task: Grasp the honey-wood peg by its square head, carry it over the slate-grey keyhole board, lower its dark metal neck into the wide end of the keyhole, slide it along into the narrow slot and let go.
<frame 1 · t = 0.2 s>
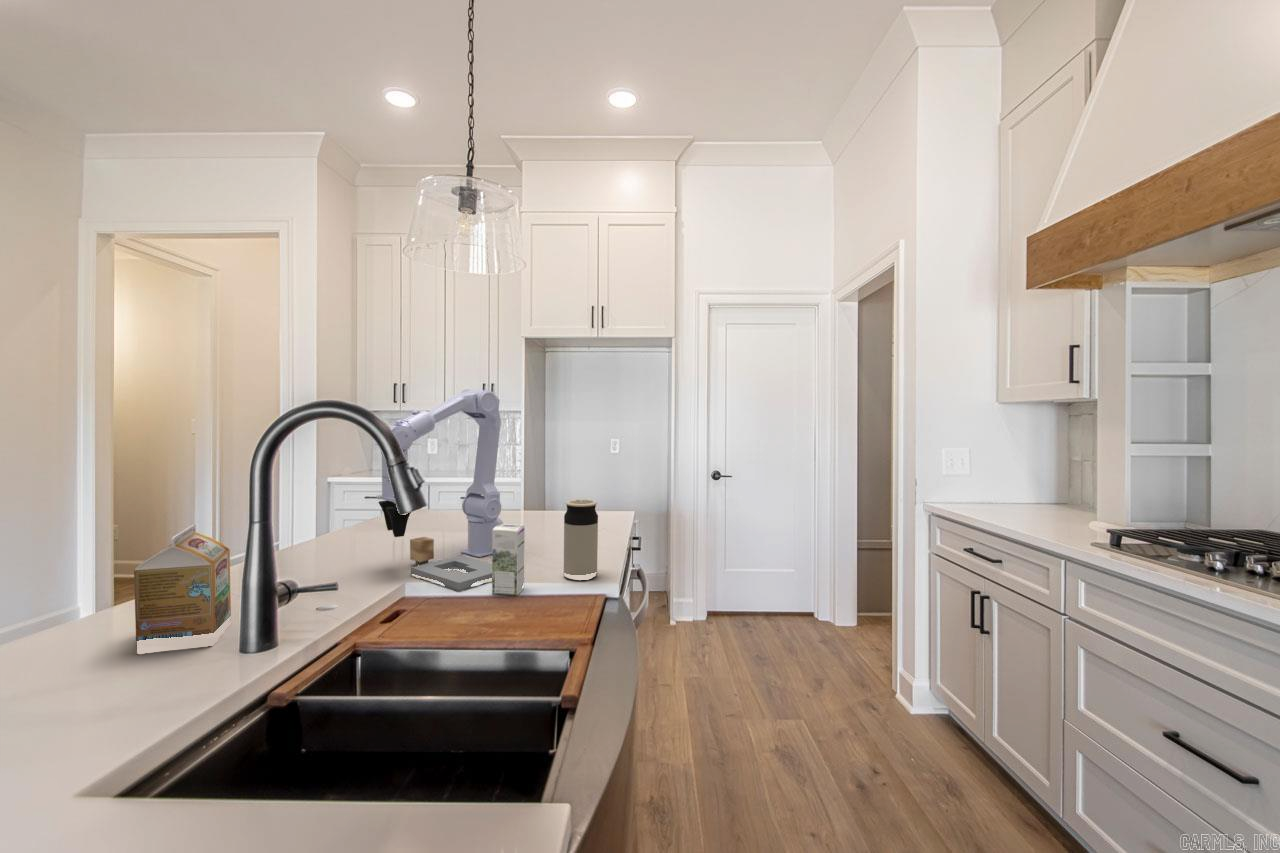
hand: (395, 533, 143), 10 cm above the countertop, tool pointing down, fingers open, 7 cm apart
keyhole peg: (422, 564, 151), on the countertop
milk carton: (186, 639, 105), on the countertop
syrup box: (508, 592, 132), on the countertop
keyhole board: (459, 576, 142), on the countertop
travel mug: (580, 577, 144), on the countertop
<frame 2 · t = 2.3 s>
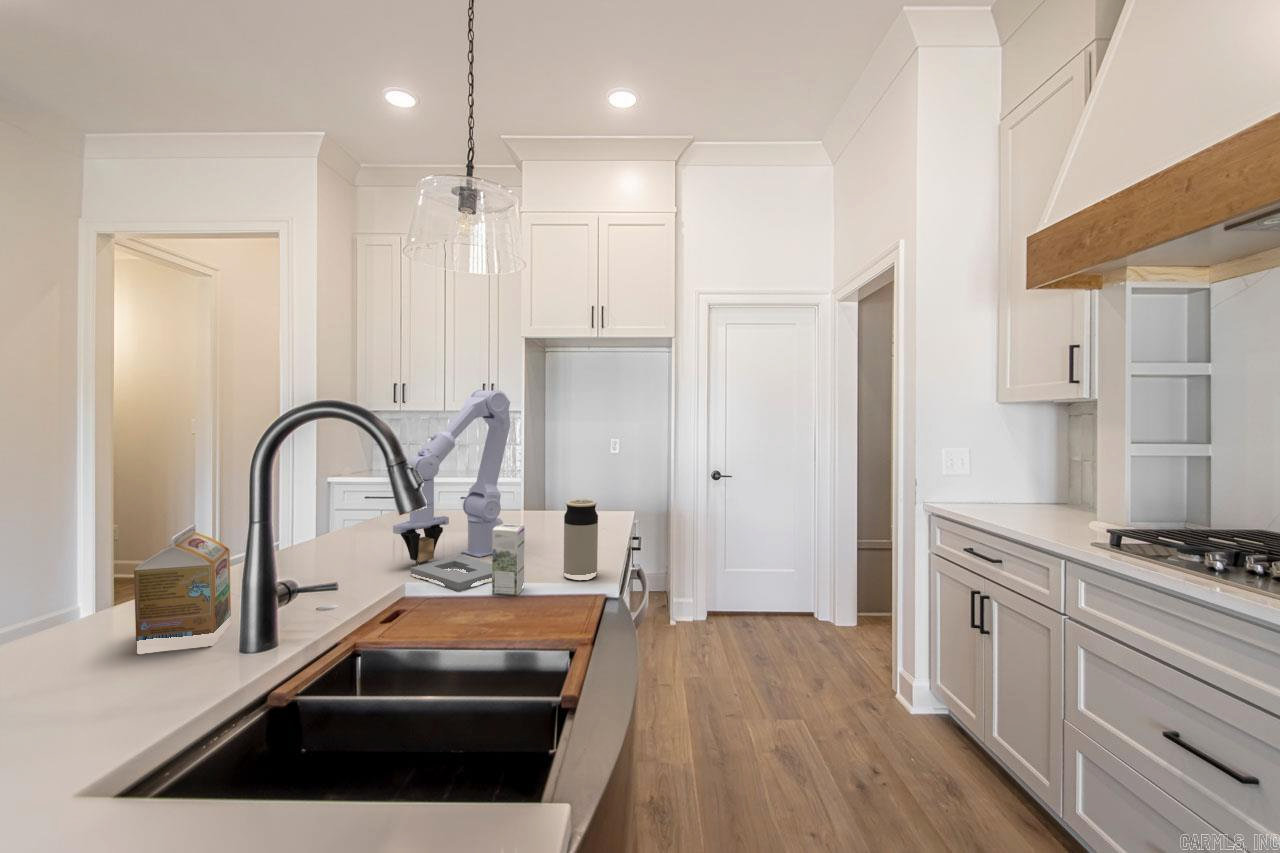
hand: (422, 557, 151), 2 cm above the countertop, tool pointing down, fingers closed on keyhole peg, 4 cm apart
keyhole peg: (422, 564, 151), on the countertop, touching gripper
everything else where it was.
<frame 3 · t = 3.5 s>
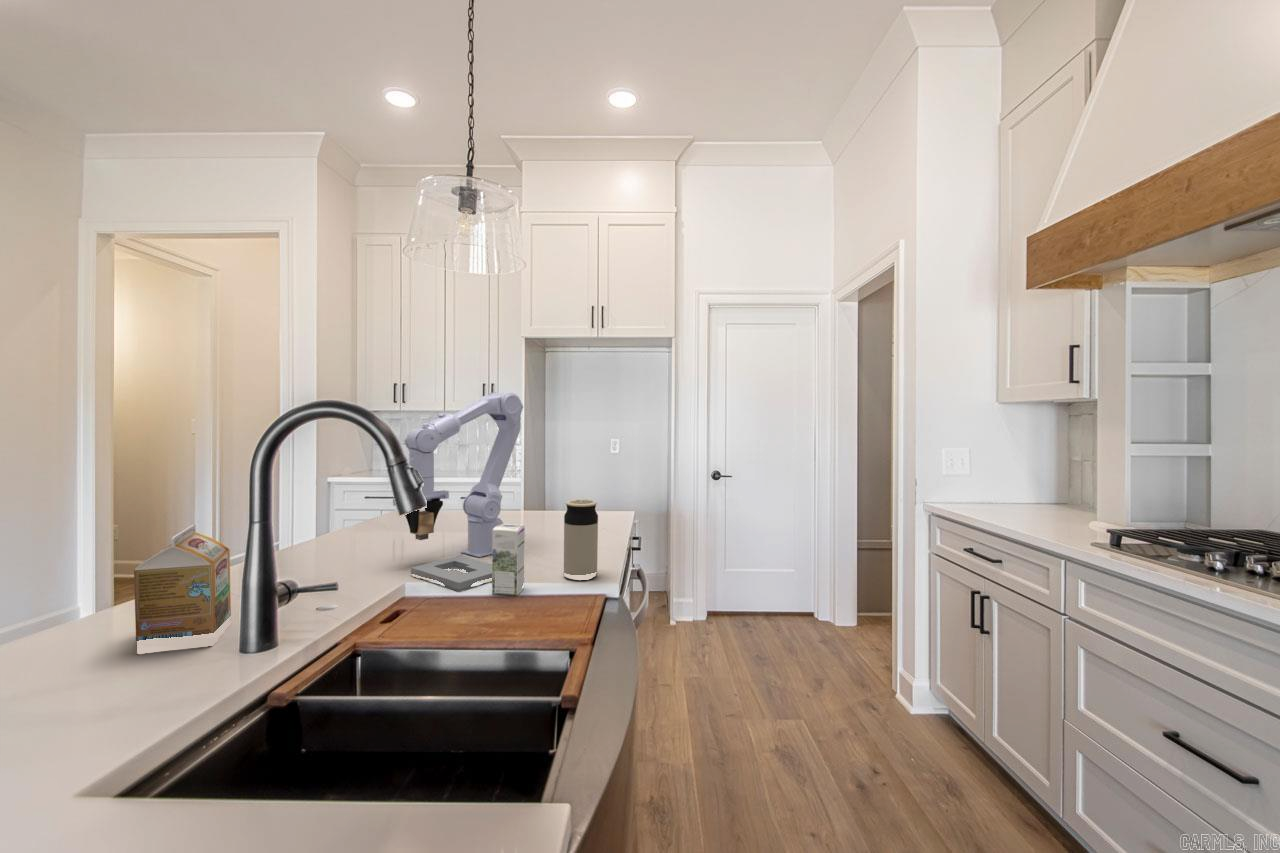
hand: (422, 530, 151), 9 cm above the countertop, tool pointing down, fingers closed on keyhole peg, 4 cm apart
keyhole peg: (422, 538, 151), point 7 cm above the countertop, touching gripper
everything else where it was.
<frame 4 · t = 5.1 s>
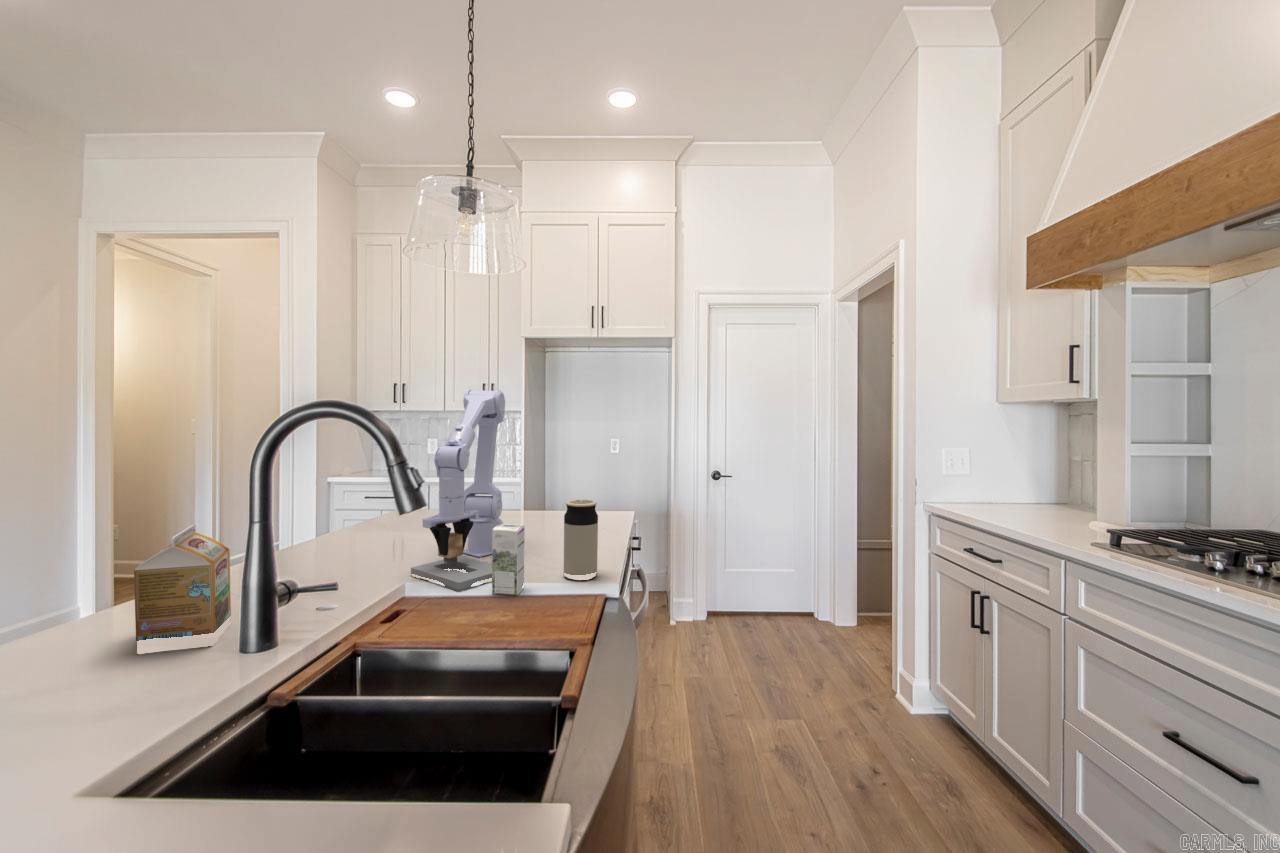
hand: (451, 552, 144), 5 cm above the countertop, tool pointing down, fingers closed on keyhole peg, 4 cm apart
keyhole peg: (450, 561, 144), point 3 cm above the countertop, touching gripper
everything else where it was.
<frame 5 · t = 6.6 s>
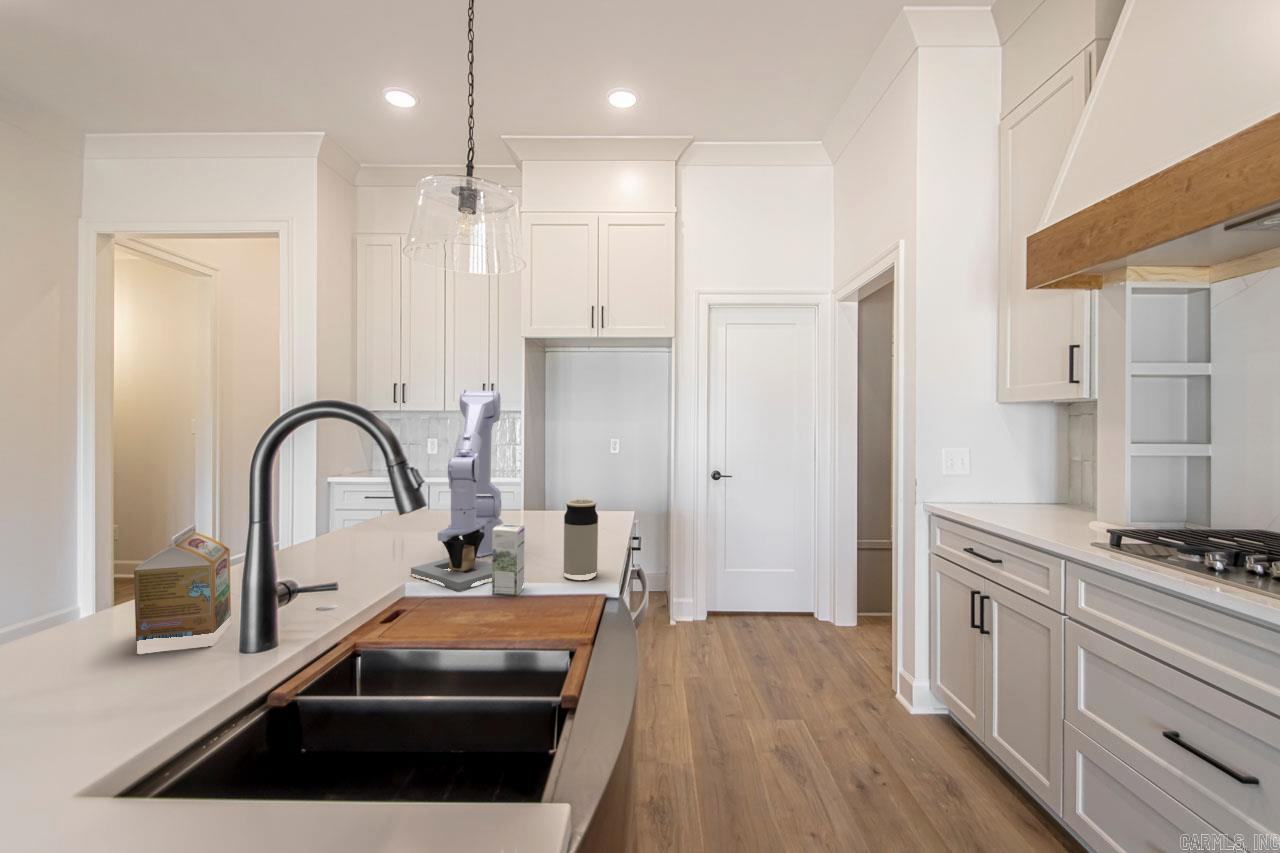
hand: (463, 565, 141), 3 cm above the countertop, tool pointing down, fingers closed on keyhole peg, 4 cm apart
keyhole peg: (462, 574, 141), point 1 cm above the countertop, touching gripper
everything else where it was.
when the fingers open (3 cm above the countertop, at t = 7.7 s): keyhole peg stays where it is, resting on keyhole board.
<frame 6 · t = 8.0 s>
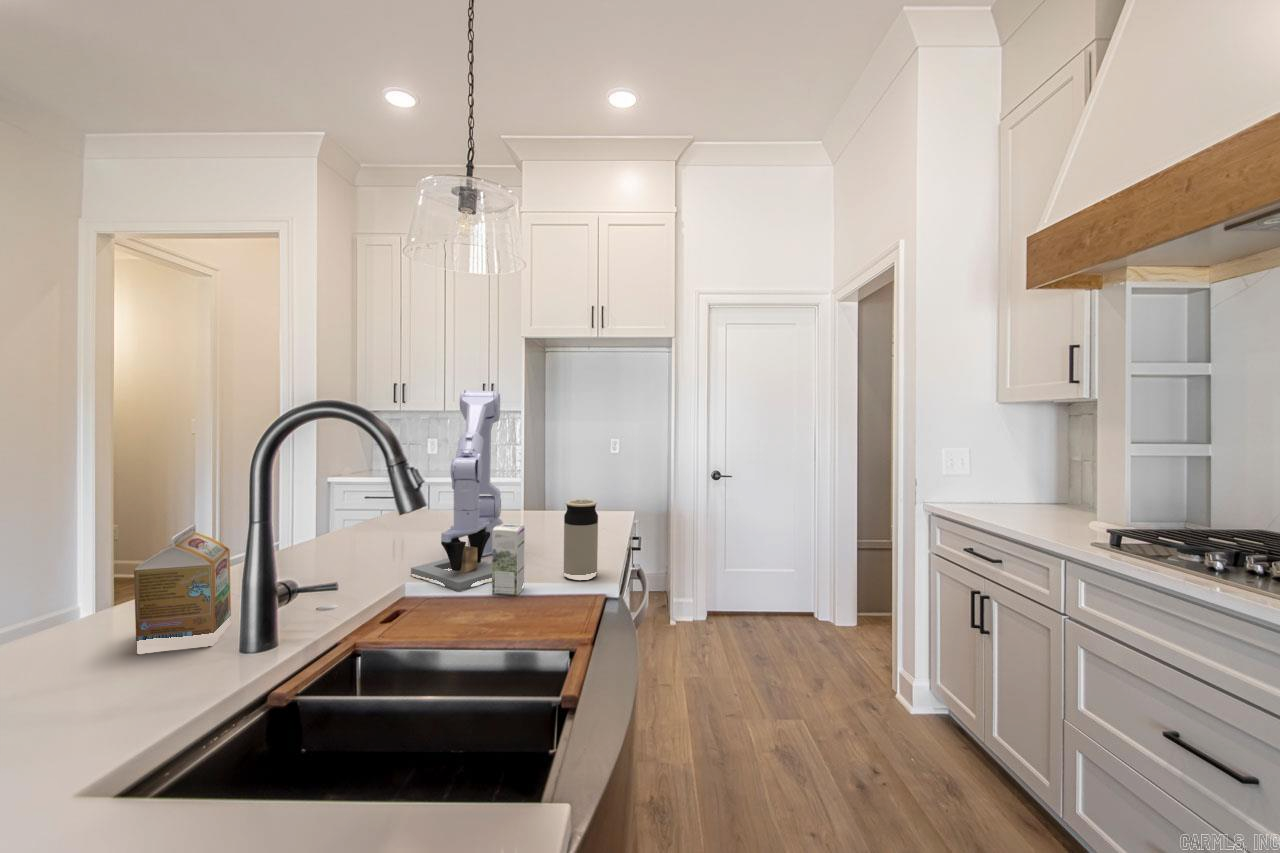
hand: (466, 566, 141), 3 cm above the countertop, tool pointing down, fingers open, 6 cm apart
keyhole peg: (464, 576, 141), resting on keyhole board
everything else where it was.
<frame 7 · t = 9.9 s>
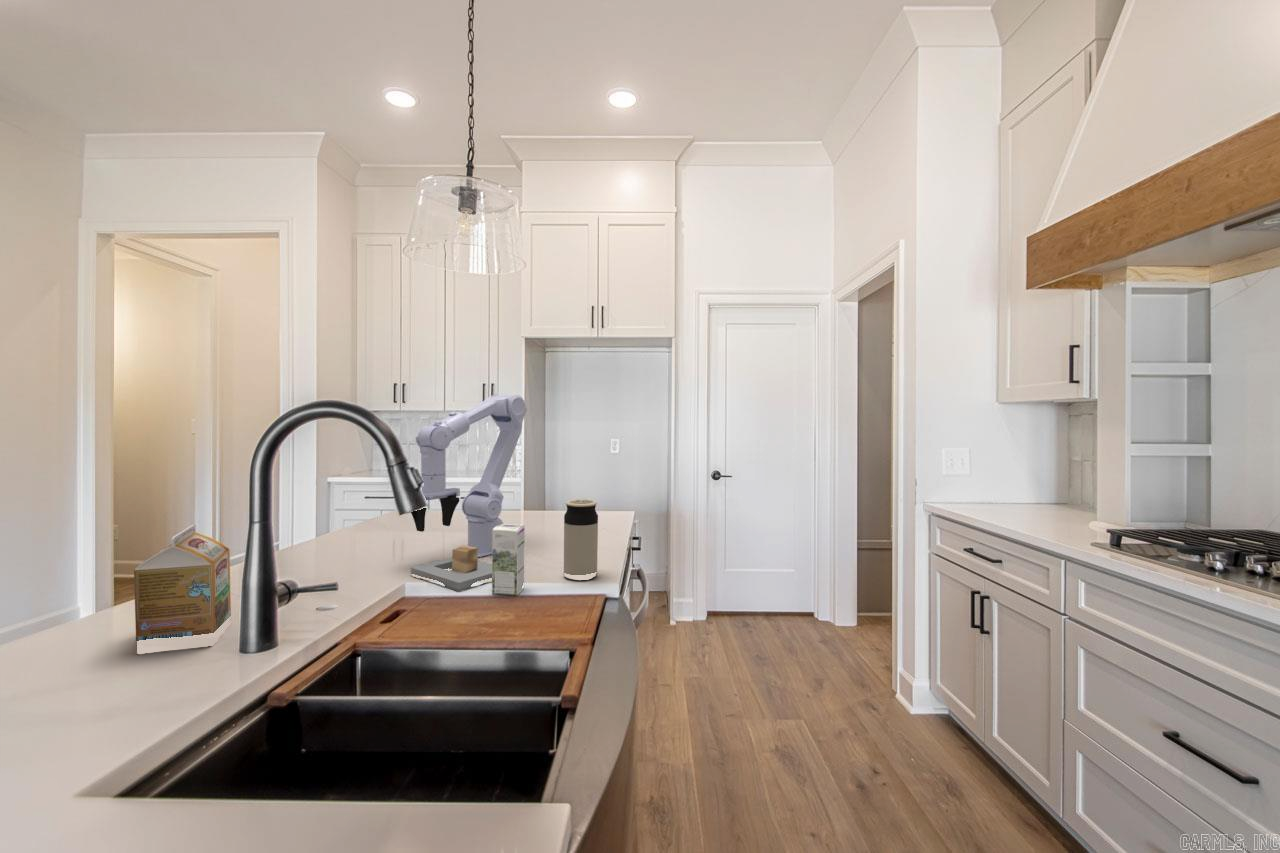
hand: (433, 528, 150), 9 cm above the countertop, tool pointing down, fingers open, 7 cm apart
nothing on the countertop moved.
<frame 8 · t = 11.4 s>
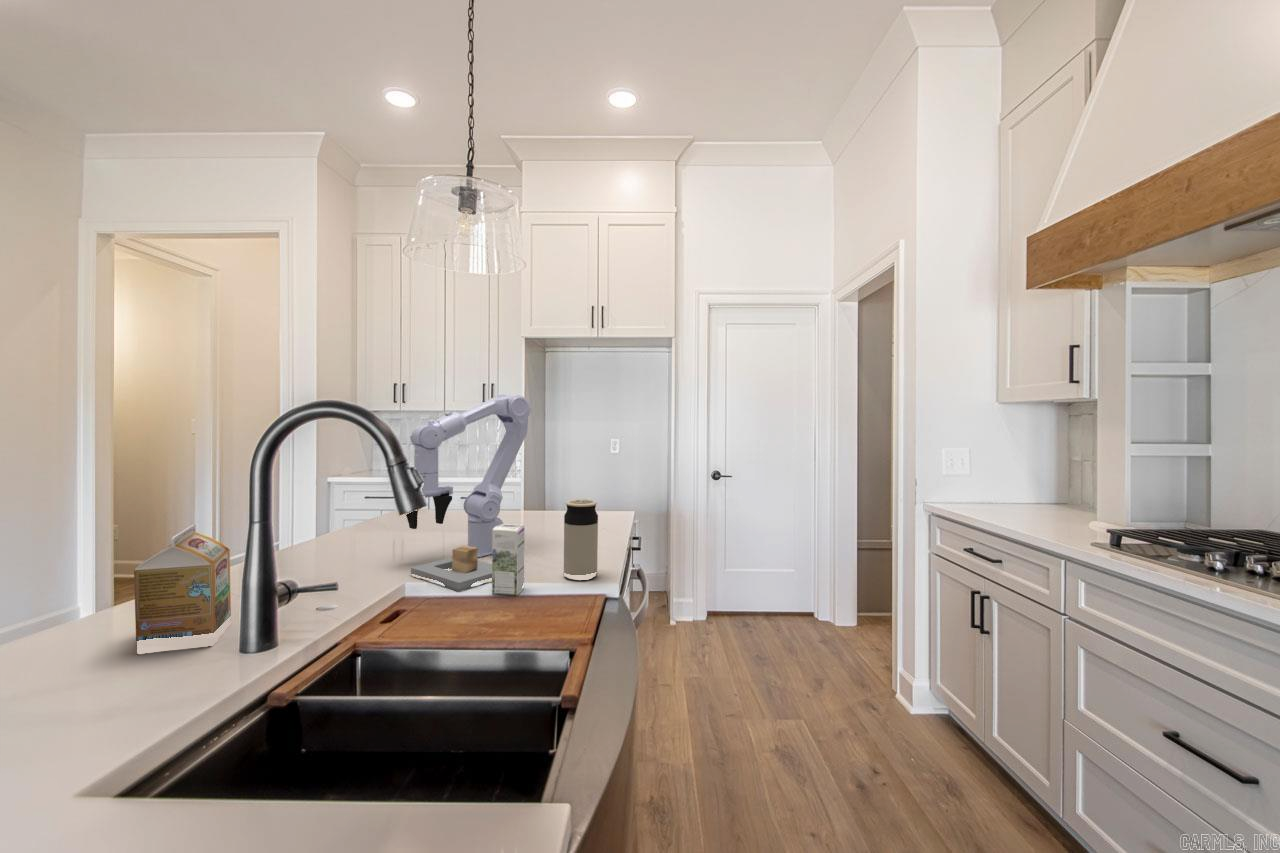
hand: (426, 525, 153), 9 cm above the countertop, tool pointing down, fingers open, 7 cm apart
nothing on the countertop moved.
at the end: keyhole peg 0.7 cm from the target spot on the keyhole board, point 0.5 cm above the keyhole board's base; keyhole peg tilted 0°; the gripper is holding nothing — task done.
